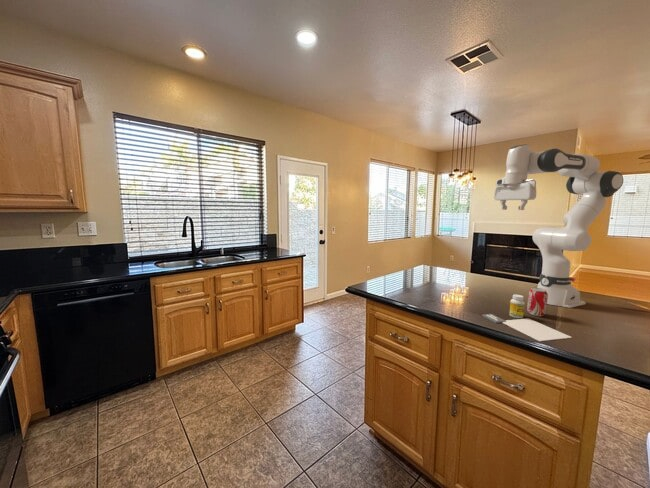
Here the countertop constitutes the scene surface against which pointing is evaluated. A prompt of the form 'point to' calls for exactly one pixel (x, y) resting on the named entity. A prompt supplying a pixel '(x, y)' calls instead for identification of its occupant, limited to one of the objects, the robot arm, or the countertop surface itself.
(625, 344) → the countertop surface
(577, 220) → the robot arm
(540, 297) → the soda can
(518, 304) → the supplement bottle
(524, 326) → the paper sheet
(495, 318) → the word card
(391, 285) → the countertop surface
